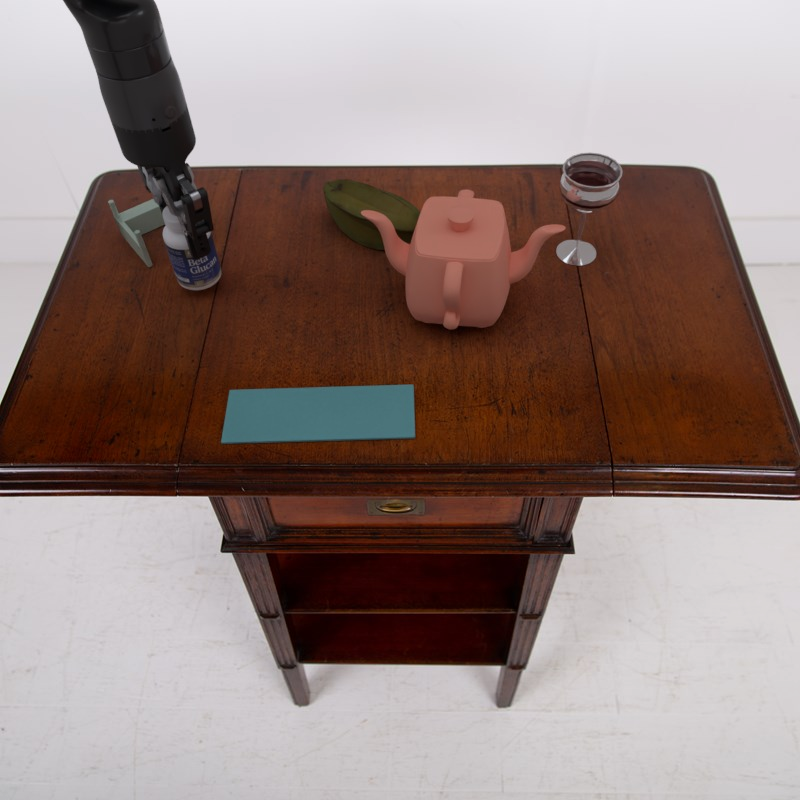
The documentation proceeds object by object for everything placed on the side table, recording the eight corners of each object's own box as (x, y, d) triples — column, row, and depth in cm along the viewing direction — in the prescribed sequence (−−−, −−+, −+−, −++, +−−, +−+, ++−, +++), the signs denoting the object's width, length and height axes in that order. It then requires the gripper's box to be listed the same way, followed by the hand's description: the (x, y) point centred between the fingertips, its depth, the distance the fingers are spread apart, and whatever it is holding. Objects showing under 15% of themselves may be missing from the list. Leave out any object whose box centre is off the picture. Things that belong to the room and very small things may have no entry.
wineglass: (591, 230, 97) (608, 148, 88) (612, 264, 93) (633, 182, 84) (540, 240, 96) (553, 157, 87) (560, 275, 92) (575, 192, 83)
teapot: (366, 290, 91) (358, 204, 82) (476, 238, 97) (481, 152, 87) (438, 367, 84) (439, 282, 74) (553, 306, 89) (568, 219, 79)
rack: (208, 240, 98) (198, 206, 94) (148, 268, 95) (135, 234, 91) (178, 208, 103) (167, 174, 98) (120, 234, 100) (106, 200, 95)
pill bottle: (199, 298, 89) (178, 232, 82) (168, 280, 92) (144, 214, 84) (231, 273, 92) (214, 207, 84) (200, 256, 94) (180, 190, 87)
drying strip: (221, 444, 78) (220, 442, 78) (230, 391, 82) (229, 389, 82) (415, 438, 78) (415, 437, 77) (413, 386, 82) (413, 384, 82)
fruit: (339, 268, 94) (333, 226, 89) (324, 210, 101) (319, 167, 96) (428, 253, 95) (428, 210, 90) (407, 196, 103) (406, 154, 97)
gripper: (82, 90, 77) (132, 224, 90) (144, 152, 69) (189, 289, 83) (149, 65, 79) (189, 199, 93) (216, 123, 72) (249, 260, 85)
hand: (189, 241), depth 87 cm, fingers closed on pill bottle, 5 cm apart
